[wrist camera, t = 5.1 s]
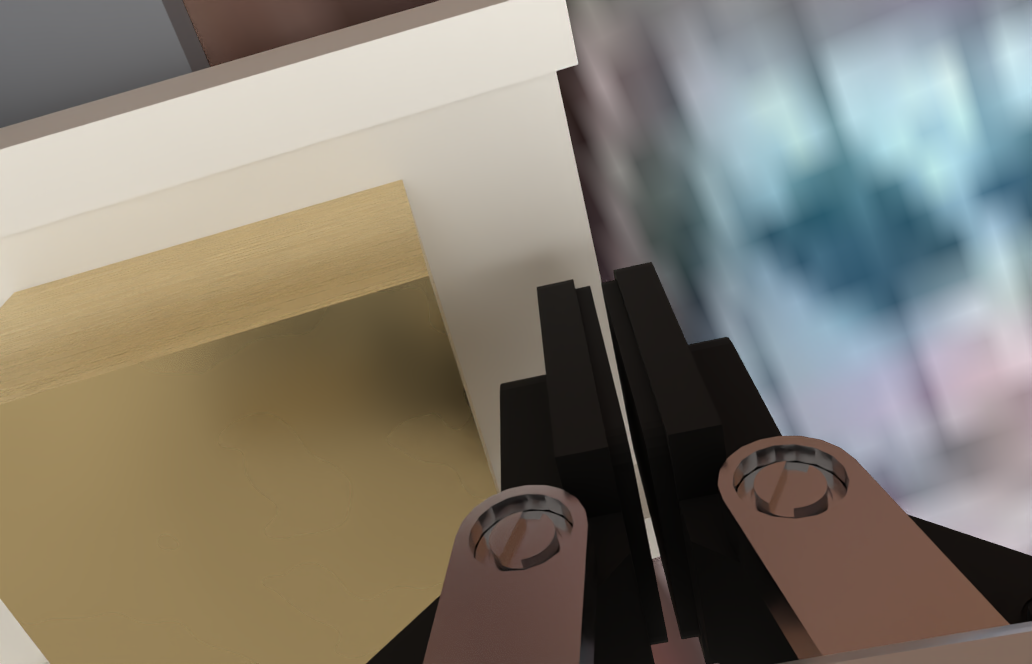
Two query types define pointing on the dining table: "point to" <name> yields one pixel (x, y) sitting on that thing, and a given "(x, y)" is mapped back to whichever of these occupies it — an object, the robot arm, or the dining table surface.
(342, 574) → the block
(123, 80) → the balance stand
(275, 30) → the dining table surface
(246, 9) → the dining table surface
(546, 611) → the robot arm
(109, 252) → the beam
